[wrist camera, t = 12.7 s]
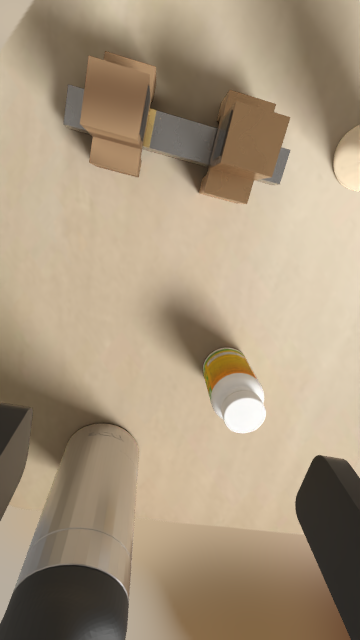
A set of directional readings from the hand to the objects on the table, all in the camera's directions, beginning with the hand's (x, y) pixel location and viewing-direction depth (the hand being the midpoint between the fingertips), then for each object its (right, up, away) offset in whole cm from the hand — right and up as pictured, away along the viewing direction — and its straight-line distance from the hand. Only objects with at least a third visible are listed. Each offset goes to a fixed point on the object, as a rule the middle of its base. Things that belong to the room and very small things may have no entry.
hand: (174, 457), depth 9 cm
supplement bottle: (+6, -2, +31) cm, 32 cm away
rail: (0, +21, +23) cm, 31 cm away
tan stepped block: (-5, +22, +22) cm, 31 cm away
